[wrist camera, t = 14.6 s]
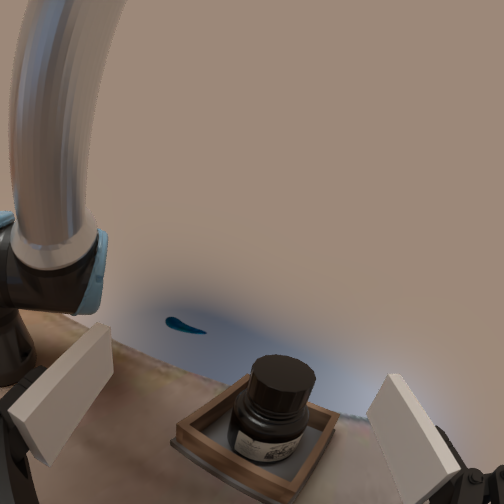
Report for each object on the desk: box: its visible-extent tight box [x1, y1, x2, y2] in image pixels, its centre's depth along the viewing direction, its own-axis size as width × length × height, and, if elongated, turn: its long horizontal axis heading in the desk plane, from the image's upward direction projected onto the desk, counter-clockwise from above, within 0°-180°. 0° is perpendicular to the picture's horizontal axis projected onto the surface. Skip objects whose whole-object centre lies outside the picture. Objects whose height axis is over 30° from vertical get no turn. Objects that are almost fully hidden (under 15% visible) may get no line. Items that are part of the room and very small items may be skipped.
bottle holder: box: [170, 374, 340, 504], centre depth 29 cm, size 16×16×4 cm
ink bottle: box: [227, 354, 316, 465], centre depth 27 cm, size 10×9×12 cm
